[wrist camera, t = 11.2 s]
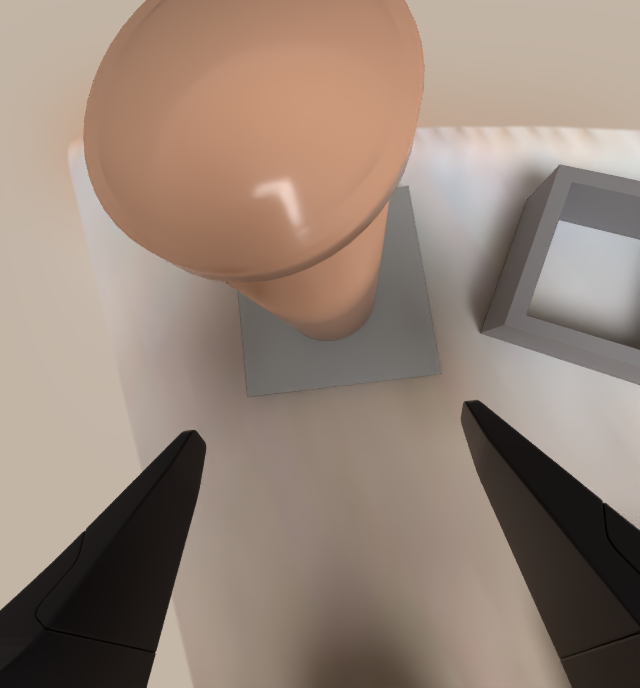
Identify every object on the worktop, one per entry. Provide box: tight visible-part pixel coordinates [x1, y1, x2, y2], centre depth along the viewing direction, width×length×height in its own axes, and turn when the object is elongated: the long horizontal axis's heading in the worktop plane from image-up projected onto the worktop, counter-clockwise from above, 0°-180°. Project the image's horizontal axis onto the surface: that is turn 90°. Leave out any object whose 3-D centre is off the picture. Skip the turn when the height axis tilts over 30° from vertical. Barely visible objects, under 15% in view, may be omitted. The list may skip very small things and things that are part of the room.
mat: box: [238, 186, 441, 397], centre depth 18 cm, size 12×12×1 cm
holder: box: [481, 165, 640, 385], centre depth 15 cm, size 9×9×3 cm
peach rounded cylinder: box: [83, 0, 424, 341], centre depth 12 cm, size 8×7×13 cm
